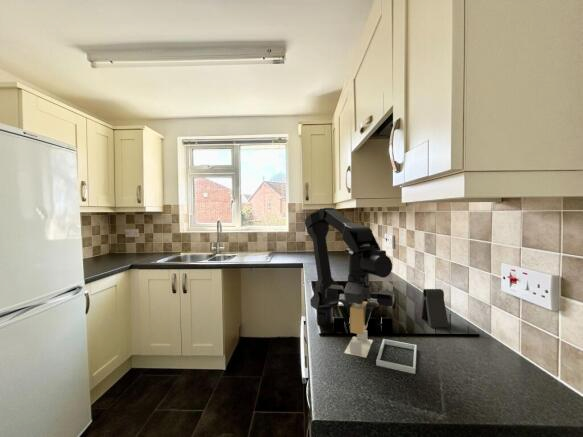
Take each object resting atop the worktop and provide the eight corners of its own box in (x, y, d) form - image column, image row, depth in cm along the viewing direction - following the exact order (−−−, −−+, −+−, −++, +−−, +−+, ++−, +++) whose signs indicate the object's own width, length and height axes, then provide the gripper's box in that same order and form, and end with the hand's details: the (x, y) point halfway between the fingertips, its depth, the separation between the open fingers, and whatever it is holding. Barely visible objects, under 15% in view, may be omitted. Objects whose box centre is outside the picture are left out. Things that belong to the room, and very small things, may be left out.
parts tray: (383, 345, 80) (383, 338, 80) (416, 352, 76) (416, 345, 76) (376, 368, 69) (376, 360, 69) (415, 377, 65) (415, 368, 65)
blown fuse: (355, 323, 82) (355, 297, 82) (367, 325, 81) (367, 299, 81) (350, 332, 76) (350, 304, 76) (363, 334, 74) (362, 306, 74)
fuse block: (353, 338, 85) (353, 326, 85) (372, 342, 82) (372, 330, 82) (343, 355, 75) (343, 341, 75) (366, 360, 72) (366, 346, 72)
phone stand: (419, 318, 101) (419, 286, 101) (435, 318, 101) (435, 286, 101) (431, 328, 92) (431, 293, 92) (448, 328, 92) (448, 293, 92)
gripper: (318, 273, 75) (319, 329, 75) (390, 279, 67) (390, 342, 67) (330, 266, 85) (331, 315, 85) (394, 270, 77) (394, 325, 77)
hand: (359, 324), depth 78 cm, fingers closed on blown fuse, 3 cm apart
